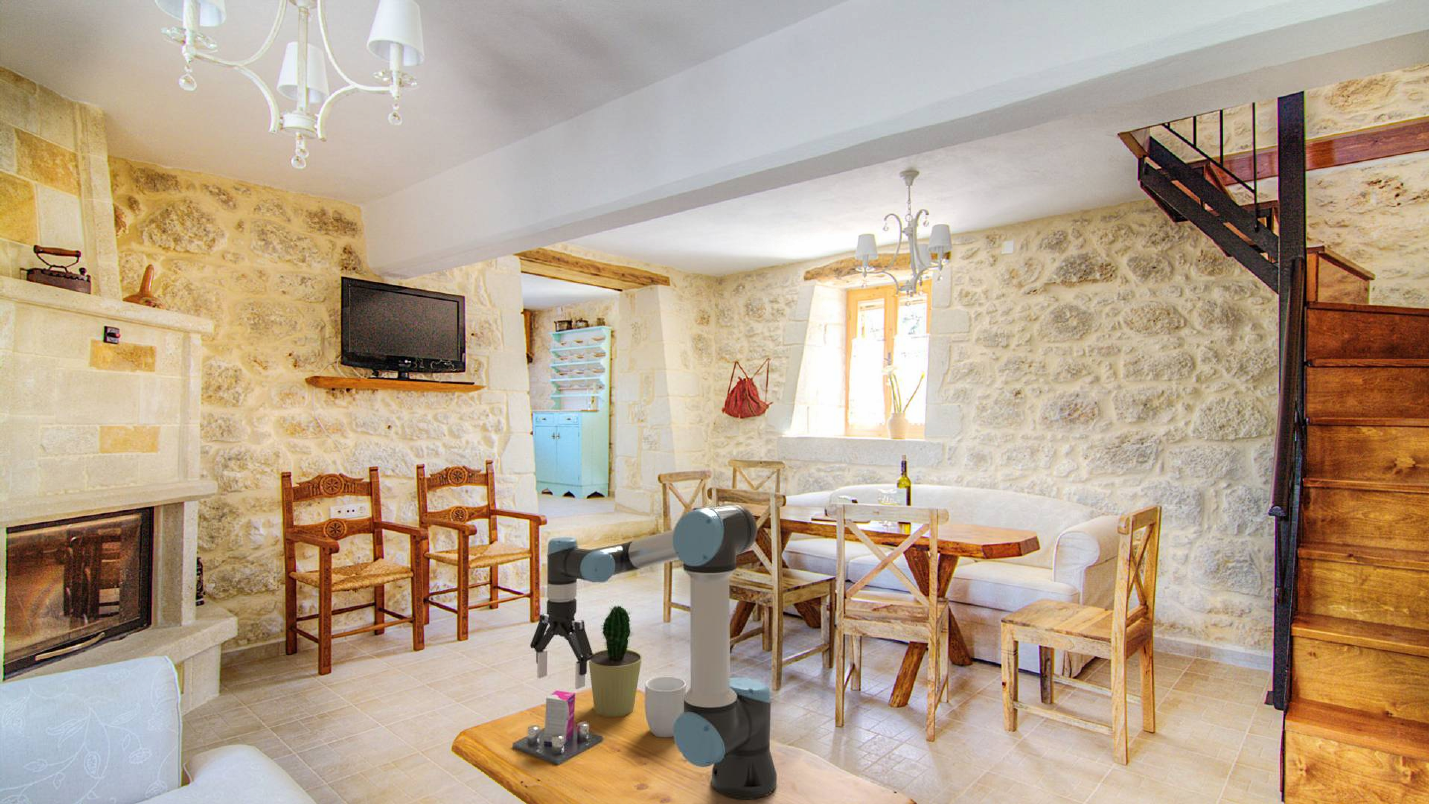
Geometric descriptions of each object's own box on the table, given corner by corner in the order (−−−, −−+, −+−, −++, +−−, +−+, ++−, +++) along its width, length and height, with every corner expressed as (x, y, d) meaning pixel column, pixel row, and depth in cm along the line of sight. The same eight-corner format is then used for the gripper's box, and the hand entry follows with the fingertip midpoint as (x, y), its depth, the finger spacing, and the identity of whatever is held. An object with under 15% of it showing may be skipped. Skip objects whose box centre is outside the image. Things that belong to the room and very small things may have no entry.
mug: (695, 721, 196) (696, 674, 196) (703, 738, 185) (704, 688, 185) (641, 725, 192) (642, 677, 193) (646, 743, 182) (647, 692, 182)
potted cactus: (595, 696, 212) (597, 596, 212) (645, 699, 210) (647, 598, 211) (580, 718, 196) (582, 610, 197) (634, 721, 195) (636, 612, 195)
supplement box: (564, 746, 177) (566, 700, 177) (543, 743, 178) (544, 698, 179) (574, 736, 183) (575, 692, 183) (553, 733, 184) (554, 689, 184)
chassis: (602, 740, 183) (603, 723, 183) (557, 765, 169) (558, 746, 170) (558, 725, 192) (558, 708, 192) (512, 747, 178) (512, 729, 178)
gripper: (608, 602, 178) (607, 687, 177) (538, 589, 191) (537, 668, 191) (587, 608, 172) (586, 696, 171) (517, 595, 185) (516, 676, 184)
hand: (560, 682), depth 181 cm, fingers open, 13 cm apart
